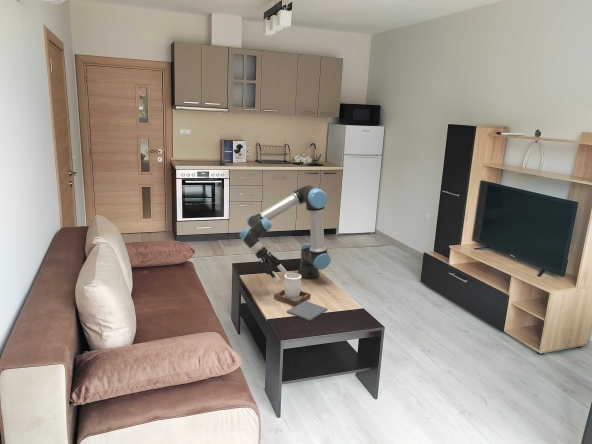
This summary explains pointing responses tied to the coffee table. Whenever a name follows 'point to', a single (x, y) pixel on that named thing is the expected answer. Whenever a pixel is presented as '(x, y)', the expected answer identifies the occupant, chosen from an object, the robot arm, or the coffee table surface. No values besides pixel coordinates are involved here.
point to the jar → (292, 285)
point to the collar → (280, 297)
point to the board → (307, 310)
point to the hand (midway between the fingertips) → (282, 277)
